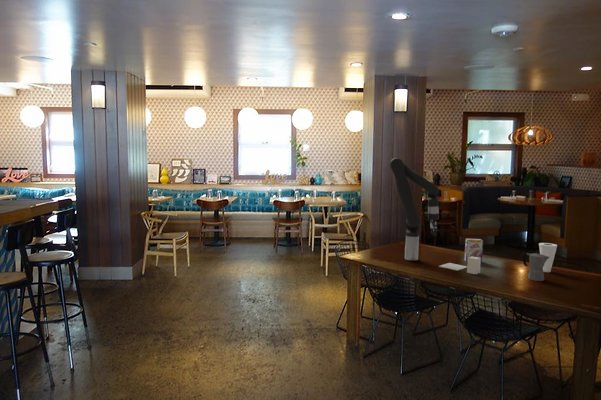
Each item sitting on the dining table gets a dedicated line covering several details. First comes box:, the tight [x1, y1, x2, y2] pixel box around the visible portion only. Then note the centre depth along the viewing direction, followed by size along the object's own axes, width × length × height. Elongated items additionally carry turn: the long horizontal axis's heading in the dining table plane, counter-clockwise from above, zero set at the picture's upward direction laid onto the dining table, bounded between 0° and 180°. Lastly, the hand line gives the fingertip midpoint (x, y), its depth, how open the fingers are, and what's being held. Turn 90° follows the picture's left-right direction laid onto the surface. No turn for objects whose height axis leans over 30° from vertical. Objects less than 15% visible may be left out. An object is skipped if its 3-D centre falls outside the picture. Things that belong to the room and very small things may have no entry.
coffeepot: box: [521, 250, 549, 282], centre depth 277 cm, size 15×9×18 cm, turn 54°
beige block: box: [466, 256, 481, 275], centre depth 290 cm, size 6×6×10 cm
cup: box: [538, 242, 558, 273], centre depth 295 cm, size 11×11×18 cm
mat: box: [438, 262, 467, 272], centre depth 306 cm, size 14×14×1 cm
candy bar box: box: [464, 238, 484, 263], centre depth 320 cm, size 11×5×16 cm, turn 84°
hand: (433, 235), depth 322 cm, fingers open, 8 cm apart
